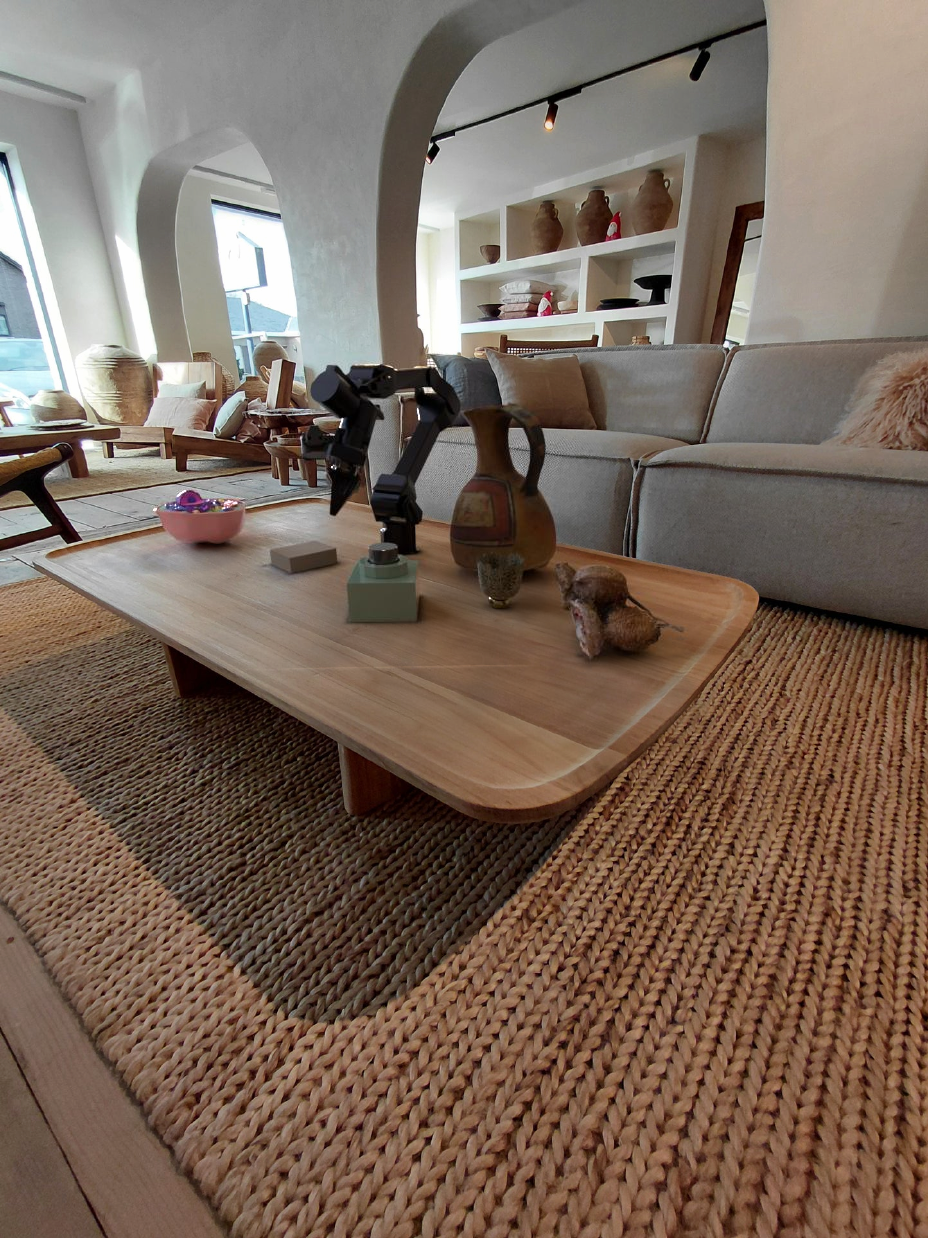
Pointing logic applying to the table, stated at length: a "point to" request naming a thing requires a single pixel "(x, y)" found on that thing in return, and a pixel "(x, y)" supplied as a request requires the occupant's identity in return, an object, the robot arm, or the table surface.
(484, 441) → the ceramic pitcher
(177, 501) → the cell model
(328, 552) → the brown rectangular block
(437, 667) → the table surface
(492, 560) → the cup
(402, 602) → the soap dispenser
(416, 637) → the table surface
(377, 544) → the dark grey metal cylinder
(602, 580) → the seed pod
